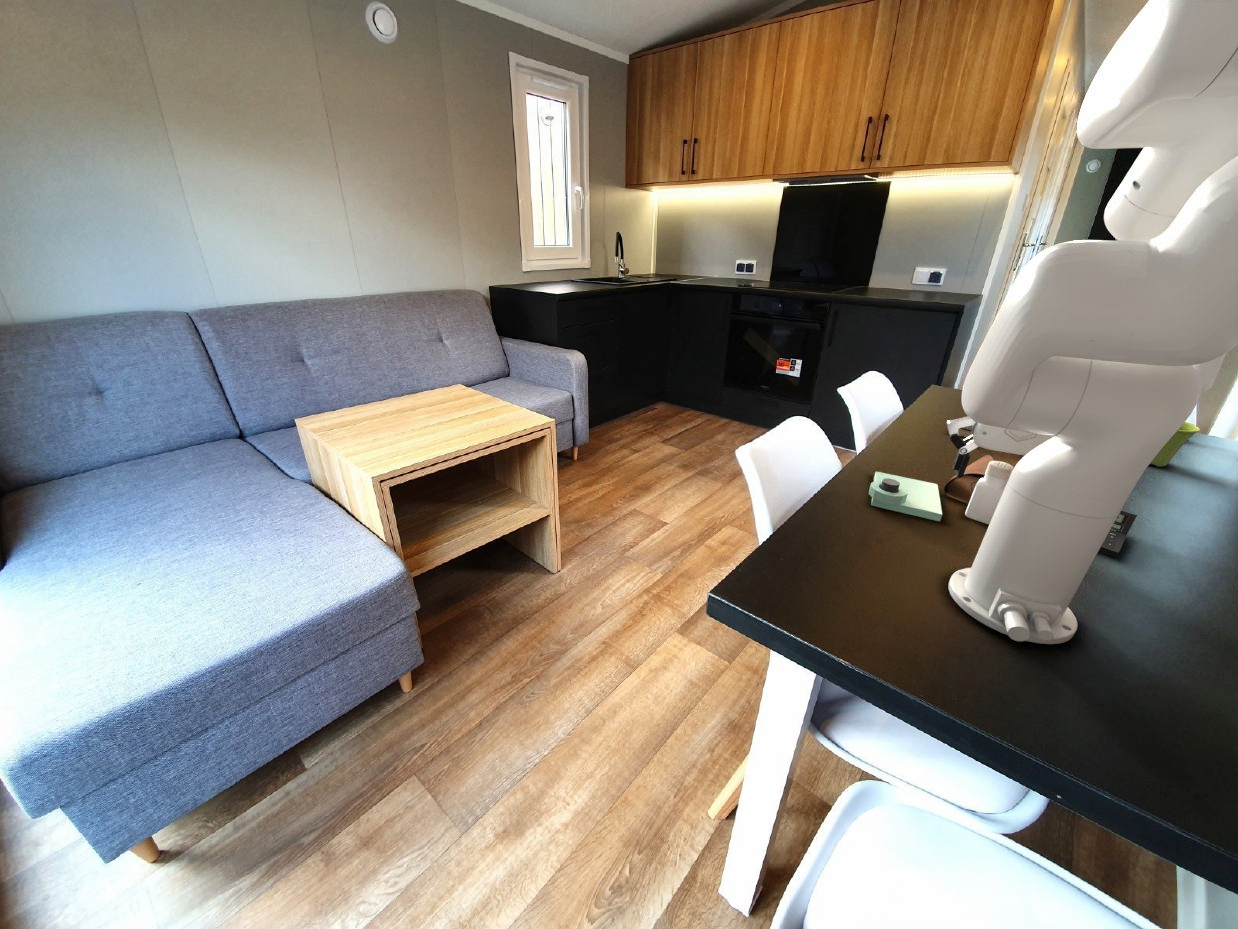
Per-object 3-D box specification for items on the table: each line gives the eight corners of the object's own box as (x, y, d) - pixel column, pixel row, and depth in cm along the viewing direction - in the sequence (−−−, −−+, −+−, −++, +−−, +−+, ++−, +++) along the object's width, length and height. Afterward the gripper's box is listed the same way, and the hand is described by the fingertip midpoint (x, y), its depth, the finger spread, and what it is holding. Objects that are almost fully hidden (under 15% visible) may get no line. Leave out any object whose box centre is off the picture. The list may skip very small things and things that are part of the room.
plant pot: (1187, 467, 101) (1210, 427, 97) (1162, 473, 98) (1185, 433, 94) (1131, 449, 109) (1150, 412, 105) (1106, 455, 105) (1125, 417, 102)
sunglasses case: (998, 512, 80) (986, 473, 80) (950, 515, 86) (939, 479, 86) (1027, 482, 91) (1017, 447, 91) (983, 487, 96) (973, 454, 96)
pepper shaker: (962, 517, 79) (983, 464, 75) (969, 508, 82) (989, 457, 78) (992, 527, 77) (1015, 473, 73) (997, 518, 79) (1020, 465, 75)
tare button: (897, 495, 80) (900, 486, 79) (879, 491, 81) (882, 483, 80) (897, 488, 82) (900, 480, 81) (880, 485, 83) (882, 476, 82)
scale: (940, 524, 77) (946, 507, 76) (865, 506, 81) (870, 490, 80) (935, 491, 87) (940, 476, 86) (869, 476, 92) (873, 462, 90)
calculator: (1036, 529, 77) (1043, 512, 75) (1053, 506, 83) (1061, 491, 82) (1115, 557, 70) (1125, 540, 69) (1128, 530, 77) (1137, 514, 76)
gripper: (969, 372, 70) (932, 478, 77) (1127, 392, 63) (1069, 506, 70) (963, 361, 76) (930, 460, 83) (1107, 378, 69) (1056, 484, 76)
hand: (994, 481), depth 77 cm, fingers open, 9 cm apart
